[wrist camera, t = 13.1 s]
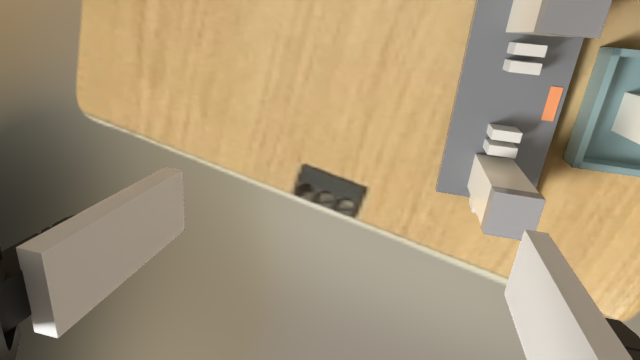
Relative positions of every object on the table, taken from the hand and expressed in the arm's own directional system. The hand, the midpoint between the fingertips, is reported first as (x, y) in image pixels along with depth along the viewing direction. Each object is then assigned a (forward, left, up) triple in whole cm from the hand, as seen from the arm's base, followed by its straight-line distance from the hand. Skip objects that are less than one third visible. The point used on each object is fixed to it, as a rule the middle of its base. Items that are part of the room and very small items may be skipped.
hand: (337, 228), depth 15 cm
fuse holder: (-2, +11, -27) cm, 29 cm away
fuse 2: (-10, +11, -26) cm, 29 cm away
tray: (-2, +22, -27) cm, 35 cm away
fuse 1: (+5, +11, -26) cm, 28 cm away
